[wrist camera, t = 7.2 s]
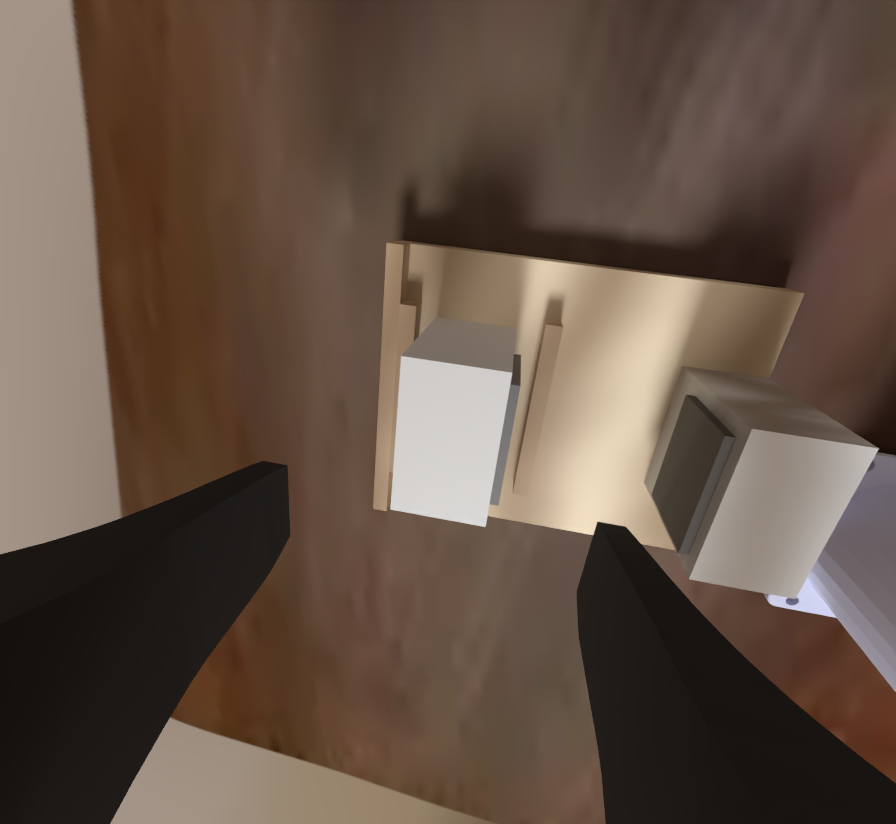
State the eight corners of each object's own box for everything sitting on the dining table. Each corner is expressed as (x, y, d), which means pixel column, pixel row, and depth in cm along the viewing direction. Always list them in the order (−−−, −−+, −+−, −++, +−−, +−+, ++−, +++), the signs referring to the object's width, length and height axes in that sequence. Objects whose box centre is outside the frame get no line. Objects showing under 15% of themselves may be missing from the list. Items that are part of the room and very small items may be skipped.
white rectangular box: (523, 328, 17) (524, 374, 12) (502, 447, 19) (495, 528, 14) (436, 316, 17) (401, 356, 12) (425, 434, 19) (390, 509, 14)
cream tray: (785, 288, 16) (945, 329, 10) (686, 536, 21) (755, 669, 14) (402, 240, 17) (337, 250, 11) (386, 482, 22) (334, 583, 16)
